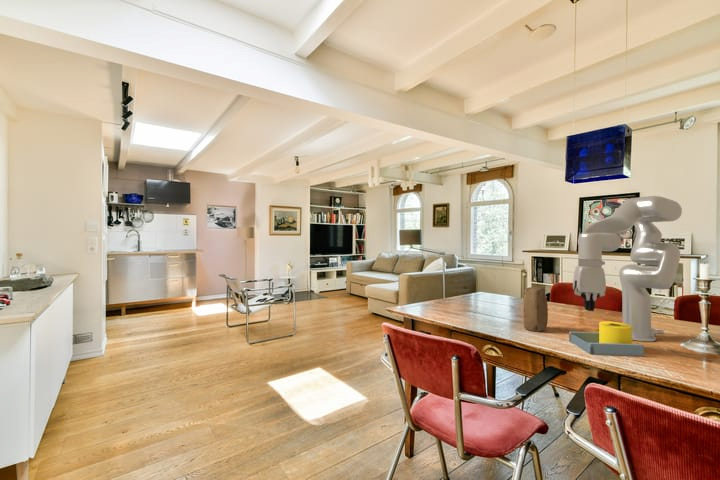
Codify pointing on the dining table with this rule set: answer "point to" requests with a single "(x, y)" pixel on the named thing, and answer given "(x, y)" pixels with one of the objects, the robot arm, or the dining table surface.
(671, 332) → the dining table surface
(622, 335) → the tape roll
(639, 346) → the grey shallow tray
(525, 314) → the block
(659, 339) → the dining table surface
